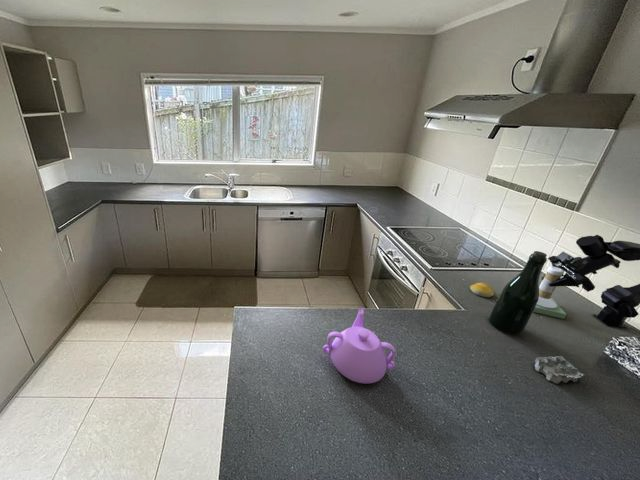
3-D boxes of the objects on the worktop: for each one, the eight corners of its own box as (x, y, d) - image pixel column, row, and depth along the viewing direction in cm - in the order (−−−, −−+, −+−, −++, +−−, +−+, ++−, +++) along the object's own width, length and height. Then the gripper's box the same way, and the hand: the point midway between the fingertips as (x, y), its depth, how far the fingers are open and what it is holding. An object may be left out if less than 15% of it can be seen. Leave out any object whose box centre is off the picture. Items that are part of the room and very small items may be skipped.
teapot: (385, 342, 100) (394, 312, 95) (396, 398, 81) (408, 364, 75) (323, 329, 105) (328, 299, 100) (319, 378, 86) (325, 345, 81)
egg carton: (551, 384, 87) (557, 375, 85) (528, 364, 94) (533, 355, 92) (582, 383, 88) (589, 374, 86) (557, 362, 95) (562, 354, 93)
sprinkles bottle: (541, 292, 120) (554, 265, 115) (553, 299, 116) (567, 271, 111) (532, 293, 120) (545, 266, 115) (544, 300, 116) (558, 272, 110)
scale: (549, 302, 126) (552, 295, 124) (563, 318, 115) (567, 312, 114) (510, 293, 131) (513, 287, 129) (521, 309, 120) (524, 302, 119)
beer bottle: (500, 315, 116) (534, 244, 103) (528, 333, 107) (569, 258, 94) (481, 319, 114) (513, 247, 101) (508, 338, 104) (548, 261, 91)
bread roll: (466, 289, 132) (468, 282, 131) (477, 285, 136) (480, 278, 134) (485, 300, 125) (488, 292, 124) (496, 295, 129) (499, 288, 127)
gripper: (563, 238, 116) (521, 257, 123) (600, 260, 100) (549, 280, 107) (578, 257, 117) (535, 275, 124) (616, 282, 101) (565, 301, 108)
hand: (545, 282), depth 116 cm, fingers closed on sprinkles bottle, 4 cm apart
